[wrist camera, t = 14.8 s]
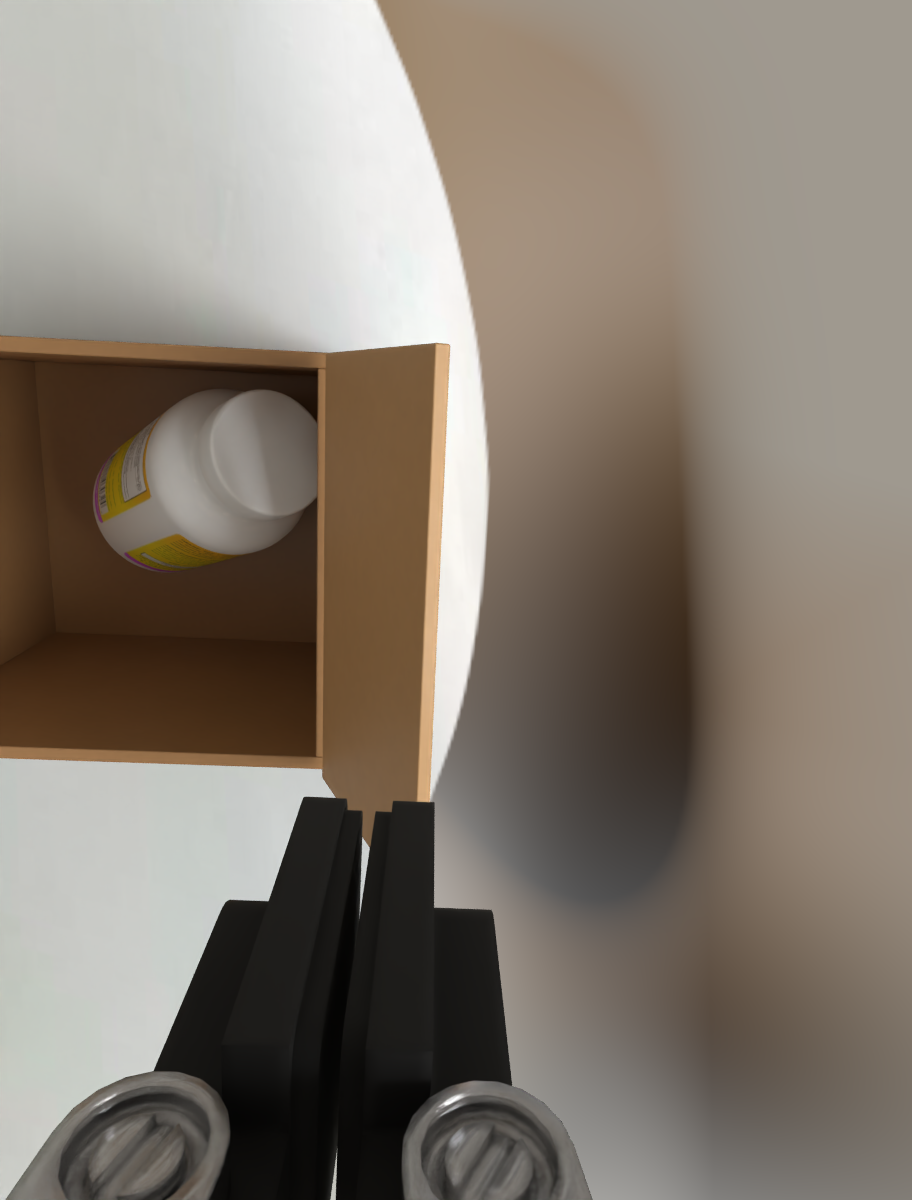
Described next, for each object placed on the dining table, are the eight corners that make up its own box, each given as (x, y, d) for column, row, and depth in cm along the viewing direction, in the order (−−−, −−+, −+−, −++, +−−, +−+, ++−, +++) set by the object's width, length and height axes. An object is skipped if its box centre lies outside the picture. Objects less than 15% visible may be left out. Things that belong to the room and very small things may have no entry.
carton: (369, 368, 40) (333, 353, 26) (363, 649, 44) (328, 769, 29) (28, 351, 39) (-200, 324, 25) (52, 637, 43) (-135, 754, 29)
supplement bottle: (249, 534, 41) (381, 495, 31) (139, 599, 38) (248, 578, 28) (181, 418, 40) (298, 336, 29) (58, 474, 36) (144, 403, 26)
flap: (325, 353, 25) (337, 353, 25) (321, 777, 29) (332, 776, 29) (434, 342, 18) (450, 344, 18) (411, 911, 22) (425, 907, 22)
